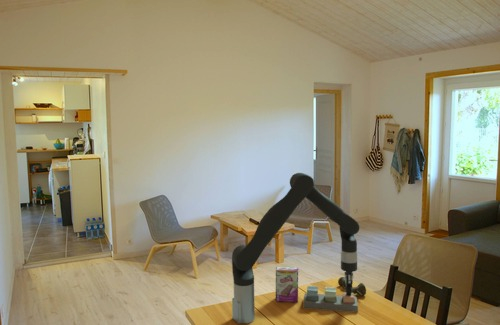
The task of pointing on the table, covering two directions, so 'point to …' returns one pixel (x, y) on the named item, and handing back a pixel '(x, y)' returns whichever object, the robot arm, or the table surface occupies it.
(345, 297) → the terracotta block
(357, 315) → the table surface
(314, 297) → the slate-blue block
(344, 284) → the kendama
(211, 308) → the table surface
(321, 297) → the charcoal board
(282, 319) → the table surface
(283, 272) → the candy bar box
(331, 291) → the sage block
